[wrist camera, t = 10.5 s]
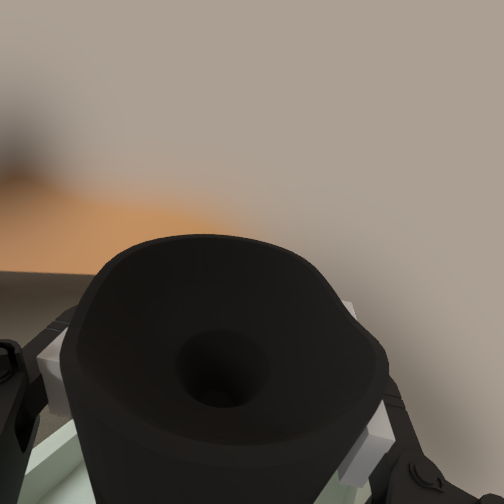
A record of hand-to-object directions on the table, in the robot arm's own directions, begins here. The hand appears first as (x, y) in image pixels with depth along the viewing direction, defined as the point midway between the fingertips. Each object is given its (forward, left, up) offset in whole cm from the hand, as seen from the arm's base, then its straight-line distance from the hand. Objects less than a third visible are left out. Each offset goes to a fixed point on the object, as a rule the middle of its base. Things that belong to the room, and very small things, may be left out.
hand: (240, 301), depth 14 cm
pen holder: (+2, -4, -7) cm, 8 cm away
